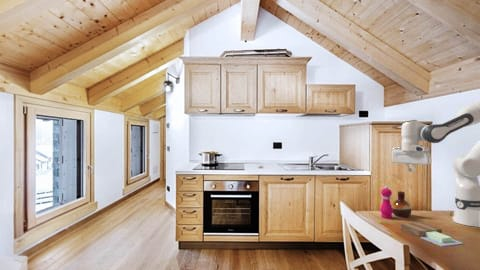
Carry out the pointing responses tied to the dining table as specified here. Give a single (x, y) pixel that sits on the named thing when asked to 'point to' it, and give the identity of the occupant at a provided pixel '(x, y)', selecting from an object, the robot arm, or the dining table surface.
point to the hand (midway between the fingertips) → (410, 171)
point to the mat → (442, 243)
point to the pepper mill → (386, 204)
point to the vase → (401, 206)
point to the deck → (419, 229)
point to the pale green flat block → (438, 236)
